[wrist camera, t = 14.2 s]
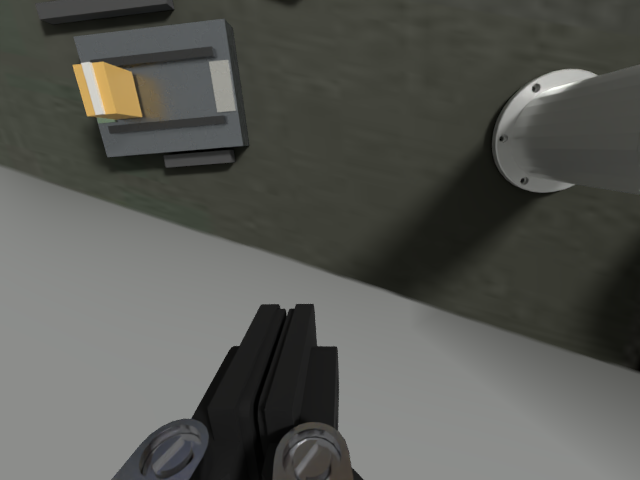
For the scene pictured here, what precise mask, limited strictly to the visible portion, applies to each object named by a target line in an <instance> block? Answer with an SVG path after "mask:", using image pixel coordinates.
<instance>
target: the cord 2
mask: <svg viewBox="0 0 640 480" xmlns="http://www.w3.org/2000/svg"><path fill="white" fill-rule="evenodd" d="M163 157H164V161H165V166H166V168H168V167H180V166H193V165H205V164H218V163H230V162H235V156H234V150H222V151H210V152H198V153H186V154H174V155H163Z"/></svg>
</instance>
